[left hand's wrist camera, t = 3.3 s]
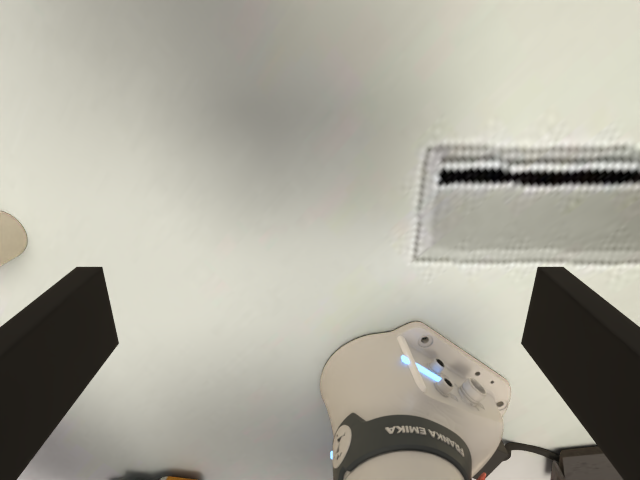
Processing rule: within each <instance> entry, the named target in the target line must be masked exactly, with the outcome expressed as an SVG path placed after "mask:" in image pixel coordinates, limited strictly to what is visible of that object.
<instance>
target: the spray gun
mask: <svg viewBox="0 0 640 480" xmlns="http://www.w3.org/2000/svg"><path fill="white" fill-rule="evenodd" d="M160 480H196V479H188V478H179V477H171V476H167V477H162V478H161V479H160Z"/></svg>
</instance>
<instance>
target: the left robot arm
mask: <svg viewBox="0 0 640 480" xmlns="http://www.w3.org/2000/svg"><path fill="white" fill-rule="evenodd" d="M118 344H119V342H118V337H117V333H116V328H115V323H114V319H113V314H112V310H111V305H110V300H109V296H108V291H107V287H106V282H105V277H104V273H103V268H102V267H76V268H75V269H74V270H72V271H71V272H70V273H68V274H67V275H66V276H65V277H63V278H62V279H61V280H60V281H58V282H57V283H56V284H55V285H53V286H52V287H51V288H49V289H48V290H47V291H46V292H44V293H43V294H42V295H41V296H39V297H38V298H37V299H36V300H34V301H33V302H32V303H30V304H29V305H28V306H27V307H25V308H24V309H23V310H22V311H20V312H19V313H18V314H16V315H15V316H14V317H13V318H11V319H10V320H9V321H8V322H6V323H5V324H4V325H3V326H1V327H0V480H17V478H18V477H19V476H20V474H21V473H22V472H23V470H24V469H25V468H26V466H27V465H28V464H29V462H30V461H31V460H32V458H33V457H34V456H35V454H36V453H37V452H38V450H39V449H40V448H41V446H42V445H43V444H44V442H45V441H46V440H47V438H48V437H49V436H50V434H51V433H52V432H53V430H54V429H55V428H56V426H57V425H58V424H59V422H60V421H61V420H62V418H63V417H64V416H65V414H66V413H67V412H68V410H69V409H70V408H71V406H72V405H73V404H74V402H75V401H76V400H77V398H78V397H79V396H80V394H81V393H82V392H83V390H84V389H85V388H86V386H87V385H88V384H89V382H90V381H91V380H92V378H93V377H94V376H95V374H96V373H97V372H98V370H99V369H100V368H101V366H102V365H103V364H104V362H105V361H106V360H107V358H108V357H109V356H110V354H111V353H112V352H113V350H114V349H115V348H116V346H117V345H118ZM521 344H522V345H523V346H524V348H525V349H526V350H527V352H528V353H529V354H530V356H531V357H532V358H533V360H534V361H535V362H536V364H537V365H538V366H539V368H540V369H541V370H542V372H543V373H544V374H545V376H546V377H547V378H548V380H549V381H550V382H551V384H552V385H553V386H554V388H555V389H556V390H557V392H558V393H559V394H560V396H561V397H562V398H563V400H564V401H565V402H566V404H567V405H568V406H569V408H570V409H571V410H572V412H573V413H574V414H575V416H576V417H577V418H578V420H579V421H580V422H581V424H582V425H583V426H584V428H585V429H586V430H587V432H588V433H589V434H590V436H591V437H592V438H593V440H594V441H595V442H596V444H597V445H598V446H599V448H600V449H601V450H602V452H603V453H604V454H605V456H606V457H607V458H608V460H609V461H610V462H611V464H612V465H613V466H614V468H615V469H616V470H617V472H618V473H619V474H620V476H621V477H622V478H623V480H640V327H639V326H637V325H636V324H635V323H634V322H632V321H631V320H630V319H629V318H627V317H626V316H625V315H624V314H622V313H621V312H620V311H618V310H617V309H616V308H615V307H613V306H612V305H611V304H610V303H608V302H607V301H606V300H604V299H603V298H602V297H601V296H599V295H598V294H597V293H596V292H594V291H593V290H592V289H591V288H589V287H588V286H587V285H585V284H584V283H583V282H582V281H580V280H579V279H578V278H577V277H575V276H574V275H573V274H572V273H570V272H569V271H568V270H566V269H565V268H564V267H538V268H537V273H536V277H535V282H534V287H533V291H532V296H531V300H530V305H529V310H528V314H527V319H526V323H525V328H524V333H523V337H522V342H521Z"/></svg>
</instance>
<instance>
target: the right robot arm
mask: <svg viewBox="0 0 640 480" xmlns="http://www.w3.org/2000/svg"><path fill="white" fill-rule="evenodd" d="M423 337H427V338H426V339H424V340H422V338H423ZM320 390H321V395H322V398H323V401H324V403H325V405H326V408H327V411H328V414H329V417H330V421H331V425H332V430H333V436H334V439H333V451H331V453H330V455H331V459H332V461H333V480H472V478H474V479H476V480H485V478H486V477H487V476H488V475H489V474H490V473H491V472H492V471H493V470H494V469H495V468H496V467H497V466H498V465H499V464H500V463H501V462H502V461H506V460H508V459H509V458H510V457H511V450H524V451H529V452H533V453H537V454H540V455H543V456H545V457H548V458H550V459H552V460H555V461H557V462H559V457H560V456H559V455H557V454H555V453H553V452H550V451H548V450H545V449H542V448H539V447H536V446H532V445H527V444H522V443H507V444H506V445H505V446H504V444H503V442H502V440H501V438H502V435H503V419H502V417H503V415H504V413H505V411H506V409H507V407H508V404H509V401H510V396H511V387H510V385H509V383H508V381H507V380H506V379H504V378H503V377H502V376H500V375H499V374H497V373H496V372H494V371H493V370H491V369H490V368H488V367H487V366H485V365H484V364H483V363H481V362H480V361H478V360H477V359H475V358H474V357H472V356H471V355H469V354H468V353H466V352H465V351H463V350H462V349H460V348H459V347H457V346H456V345H454V344H453V343H452V342H450V341H449V340H447V339H446V338H444V337H443V336H441V335H440V334H438V333H437V332H435V331H434V330H432V329H431V328H429V327H428V326H426V325H425V324H423V323H421V322H411V323H408V324H406V325H404V326H402V327H400V328H398V329H396V330H394V331H391V332H386V333H378V334H371V335H367V336H363V337H360V338H357V339H355V340H353V341H351V342H349V343H347V344H345V345H344V346H342V347H341V348H340V349H338V350H337V351H336V352H335V353H334V354H333V355H332V356H331V357H330V359H329V360H328V362H327V363H326V365H325V367H324V369H323V372H322V375H321V380H320ZM499 401H500V402H499Z"/></svg>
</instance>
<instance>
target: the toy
mask: <svg viewBox="0 0 640 480" xmlns="http://www.w3.org/2000/svg"><path fill="white" fill-rule="evenodd" d="M551 480H623V478H622V477H621V476H620V474H619V473H618V472H617V470H616V469H615V468H614V466H613V465H612V464H611V462H610V461H609V460H608V458H607V457H606V456H605V454H604V453H603V452H602V450H601V449H600V448H599V446H595V447H585V448H576V449H566V450H562V451H561V452H560V457H559V466H558V464H557V462H556V461H553V462H552V472H551Z"/></svg>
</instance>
